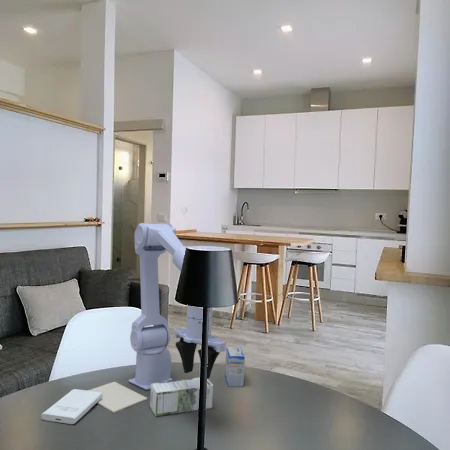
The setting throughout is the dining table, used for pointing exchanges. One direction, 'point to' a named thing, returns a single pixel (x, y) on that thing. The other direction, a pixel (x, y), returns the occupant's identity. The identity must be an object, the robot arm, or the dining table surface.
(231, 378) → the medicine box
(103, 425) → the dining table surface
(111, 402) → the mat
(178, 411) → the syrup box
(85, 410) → the external hard drive
